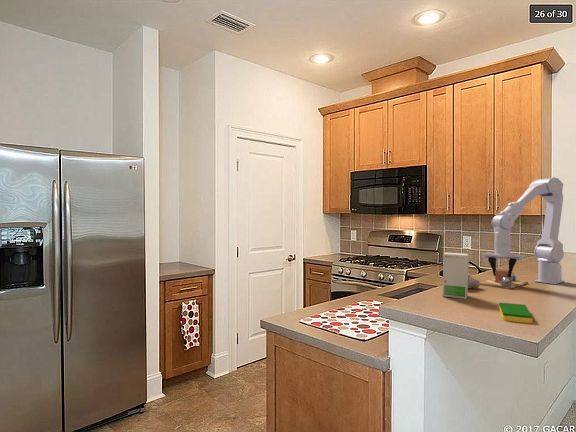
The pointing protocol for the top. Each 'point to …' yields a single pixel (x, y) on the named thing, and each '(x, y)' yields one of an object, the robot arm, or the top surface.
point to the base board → (495, 284)
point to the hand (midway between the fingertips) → (502, 276)
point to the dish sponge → (515, 312)
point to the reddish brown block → (501, 274)
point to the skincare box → (455, 275)
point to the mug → (473, 282)
